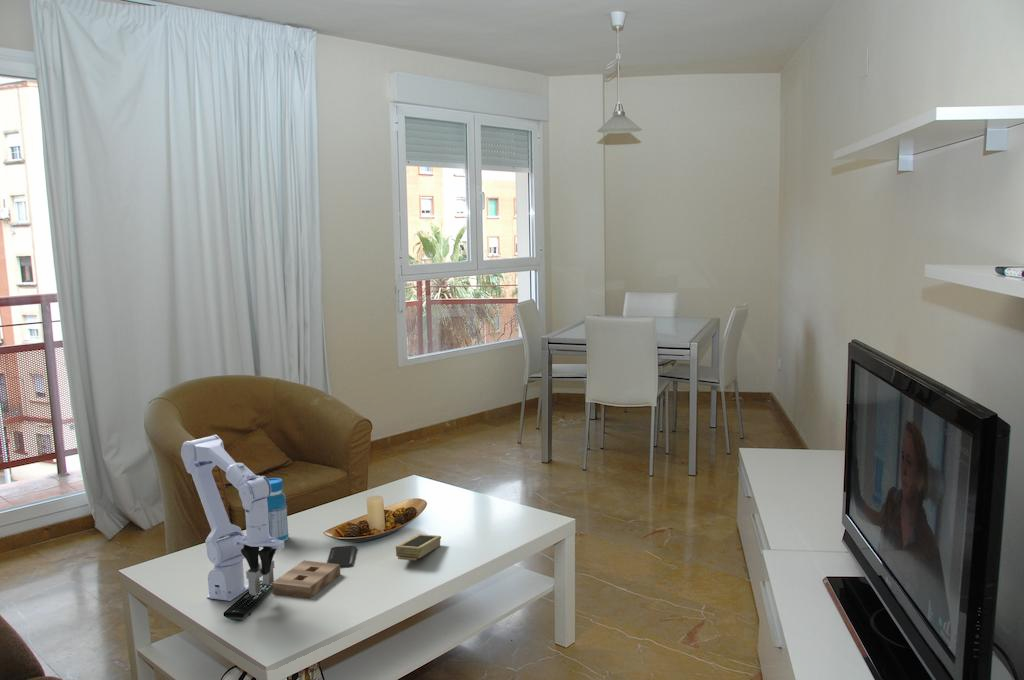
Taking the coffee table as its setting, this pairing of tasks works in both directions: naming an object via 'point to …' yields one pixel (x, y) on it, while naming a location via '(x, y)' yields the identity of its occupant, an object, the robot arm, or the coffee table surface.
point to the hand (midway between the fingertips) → (260, 572)
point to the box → (417, 546)
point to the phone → (342, 556)
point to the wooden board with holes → (306, 579)
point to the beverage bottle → (277, 510)
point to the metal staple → (258, 577)
